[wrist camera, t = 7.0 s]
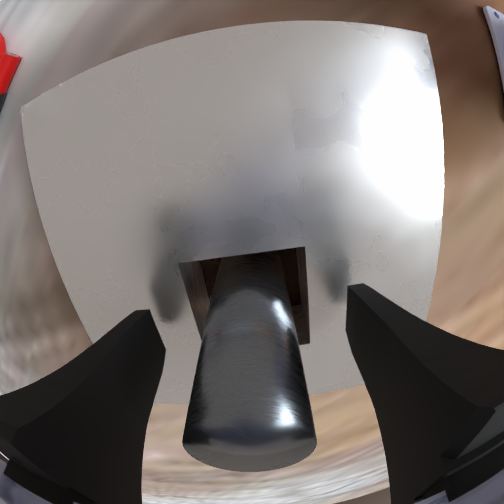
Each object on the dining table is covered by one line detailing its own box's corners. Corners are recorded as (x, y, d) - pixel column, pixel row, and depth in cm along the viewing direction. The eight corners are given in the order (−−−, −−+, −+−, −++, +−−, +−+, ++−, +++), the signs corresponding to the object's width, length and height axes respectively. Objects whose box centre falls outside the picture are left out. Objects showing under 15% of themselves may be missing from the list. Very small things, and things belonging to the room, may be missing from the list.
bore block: (392, 49, 9) (426, 33, 6) (392, 338, 15) (411, 371, 13) (59, 107, 10) (20, 107, 7) (141, 366, 16) (128, 401, 14)
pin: (280, 236, 13) (321, 410, 4) (283, 293, 14) (312, 466, 6) (213, 243, 13) (164, 416, 5) (223, 299, 14) (201, 471, 6)
